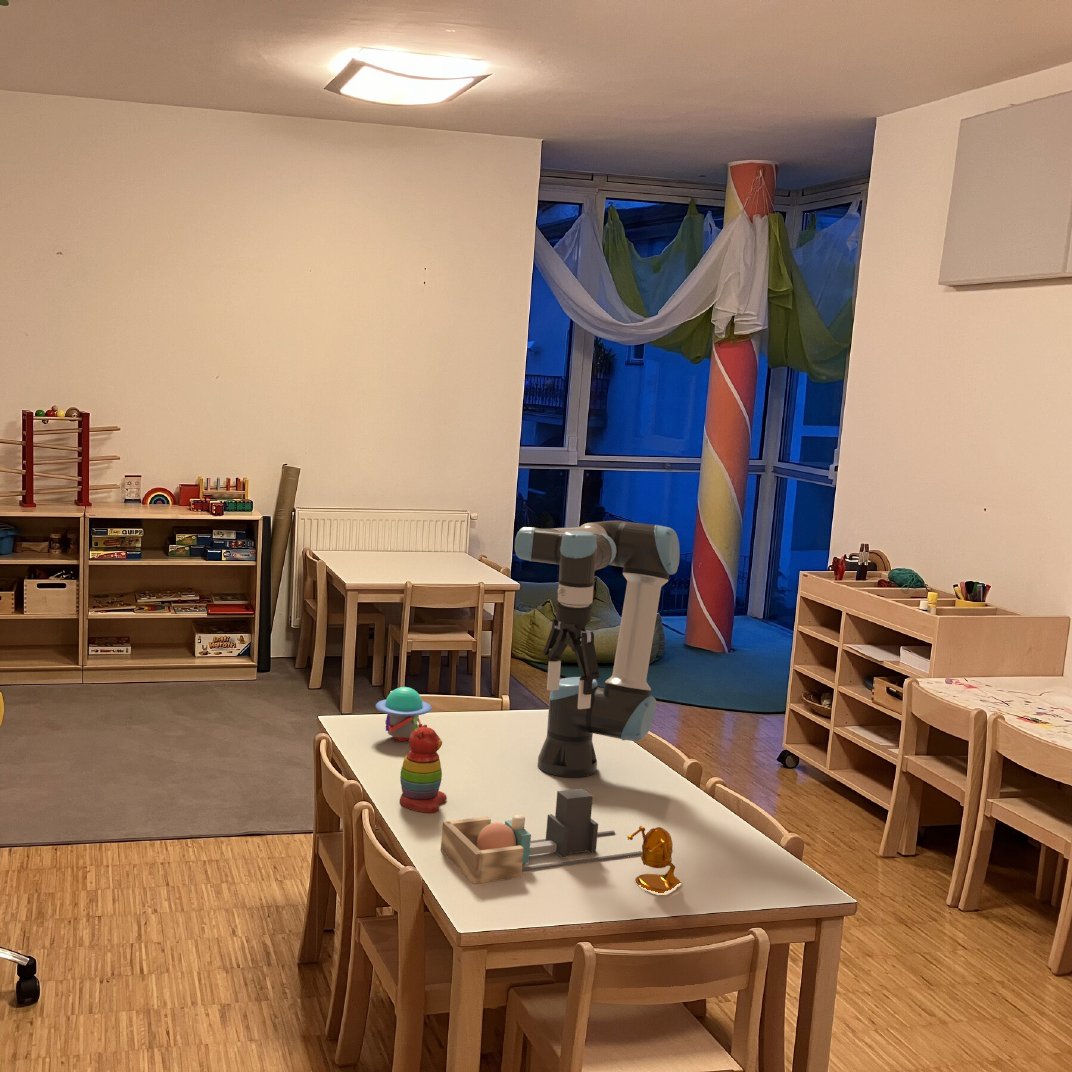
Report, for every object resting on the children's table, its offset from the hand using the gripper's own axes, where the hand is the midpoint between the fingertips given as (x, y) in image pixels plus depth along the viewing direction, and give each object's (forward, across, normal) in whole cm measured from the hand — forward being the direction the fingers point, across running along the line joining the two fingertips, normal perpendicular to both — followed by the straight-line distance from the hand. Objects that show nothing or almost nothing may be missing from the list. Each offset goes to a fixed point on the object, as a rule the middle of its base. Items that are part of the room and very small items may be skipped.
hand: (567, 698), depth 250 cm
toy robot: (+31, -66, -11) cm, 74 cm away
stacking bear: (+29, -22, -24) cm, 44 cm away
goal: (+28, +12, -25) cm, 40 cm away
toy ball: (+29, +12, -22) cm, 38 cm away
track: (+29, +13, -5) cm, 32 cm away
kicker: (+28, +13, -9) cm, 32 cm away
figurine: (+29, +33, +4) cm, 44 cm away
